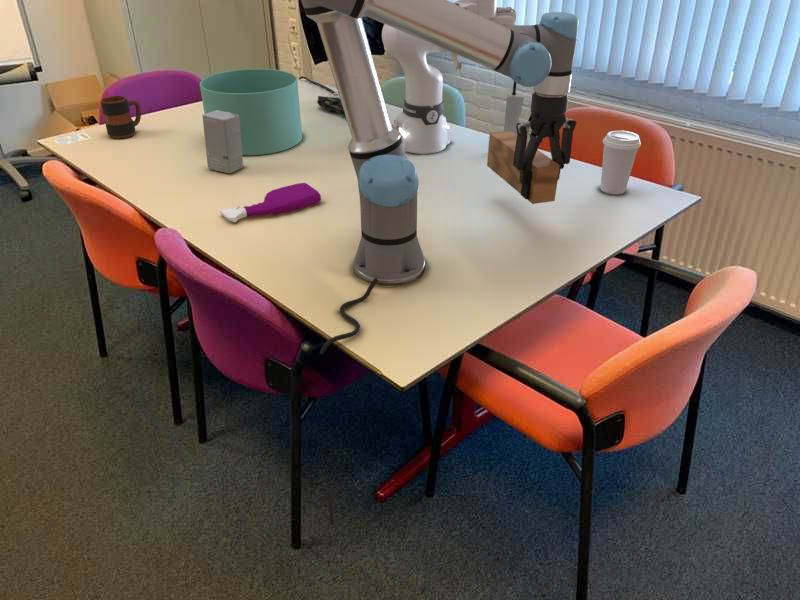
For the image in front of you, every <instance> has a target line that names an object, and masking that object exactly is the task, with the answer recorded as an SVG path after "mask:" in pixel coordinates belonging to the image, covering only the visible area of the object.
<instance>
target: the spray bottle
mask: <svg viewBox="0 0 800 600" xmlns="http://www.w3.org/2000/svg"><path fill="white" fill-rule="evenodd" d="M321 201H322V197H321V194H320V192H319V191H318V190H317V189H315V188H314V187H312V186H311V185H310V184H308V183H307V182H300V183H299V182H298V183H293V184H291V185H286V186H282V187H278V188H275V189H272V190H270V191H269V192H267V193H266V194H265V195H264V199H263V201H262V202H258V203H257V204H255V203H254V204H252V205H245V206H243V208H240V205H237V206H235V207H233V208H222V207H221V208H219V212H220V214H221V215H222V216H223V217H224V218H225V219H226V220H227V221H230V222H232V223H235V224H236V222H237V221H238V220H240V219H243V218H247V217H248V218H249V217H259V216H260V217H261V216H270V215H272V216H278V215H282V214H288V213H292V212H296V211H299V210H302V209H306V208H308V207H312V206H315V205H318V204H320V202H321Z"/></svg>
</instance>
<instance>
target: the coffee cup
mask: <svg viewBox="0 0 800 600" xmlns="http://www.w3.org/2000/svg"><path fill="white" fill-rule="evenodd" d="M641 142H642V141H641V139H640V136H639V135H638V134H637V133H635V132H633V131H628V130H611V131H608V132H607V133H606V135H605V136H604V138H603V139H602V144H603V152H602V165H601V176H600V188H599V189H600V191H601V192H603V193H605V194H608V195H622V194H625V192H626V189H627V186H628V182H629V181H630V180H629V179H630V177H631V173H632V170H633V166H634V163H635V160H636V156H637V154H638V150H639V148H641V147H642V143H641Z"/></svg>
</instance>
